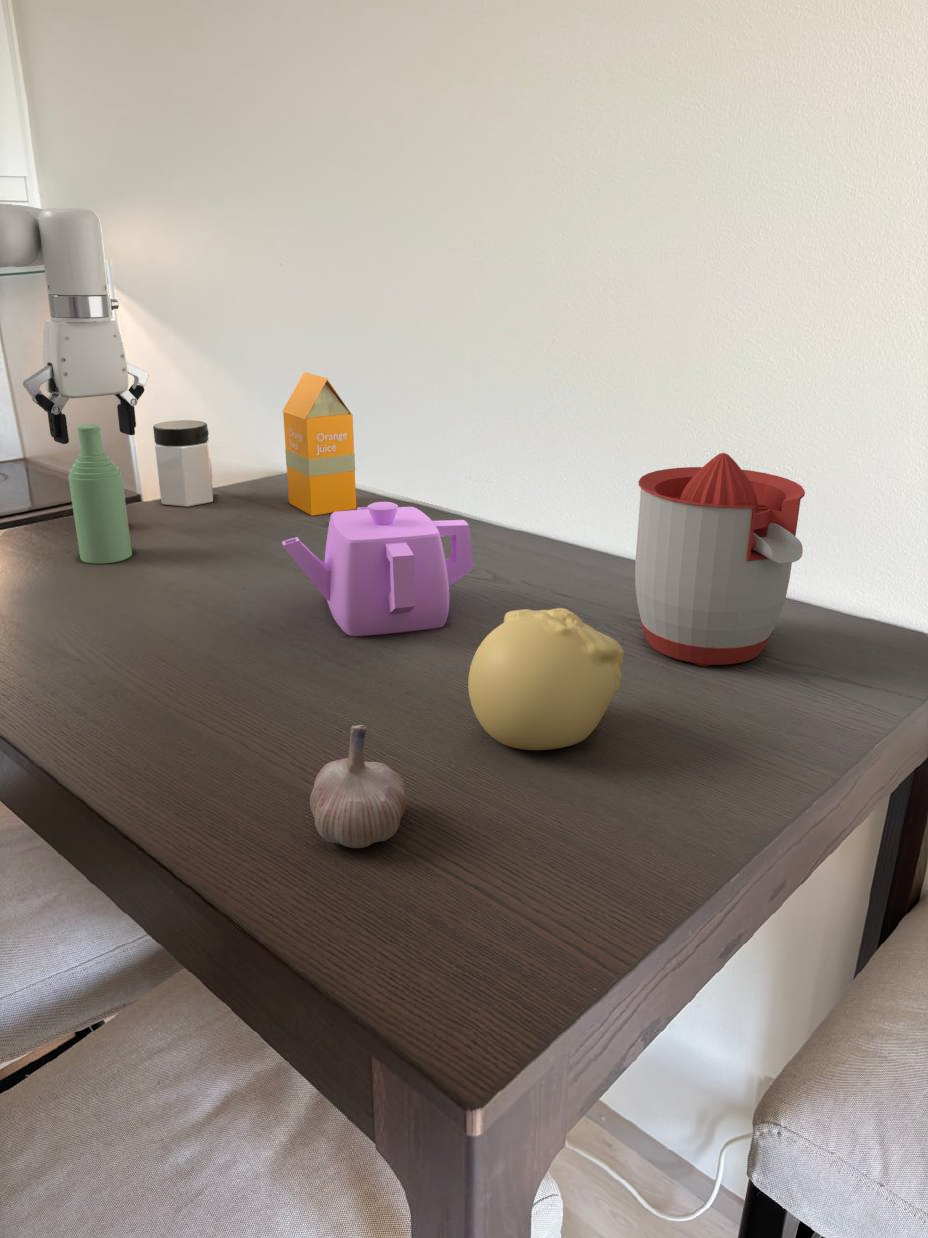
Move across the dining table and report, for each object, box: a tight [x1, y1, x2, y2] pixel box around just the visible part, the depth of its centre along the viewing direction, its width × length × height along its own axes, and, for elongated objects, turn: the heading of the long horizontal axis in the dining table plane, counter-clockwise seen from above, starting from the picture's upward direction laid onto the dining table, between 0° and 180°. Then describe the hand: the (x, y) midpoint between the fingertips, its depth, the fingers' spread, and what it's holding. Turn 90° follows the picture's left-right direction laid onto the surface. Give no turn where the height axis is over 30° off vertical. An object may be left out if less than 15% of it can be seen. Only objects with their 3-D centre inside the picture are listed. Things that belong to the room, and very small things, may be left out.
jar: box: [152, 419, 214, 508], centre depth 150 cm, size 9×8×12 cm
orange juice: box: [281, 371, 357, 516], centre depth 146 cm, size 8×9×20 cm
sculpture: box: [467, 607, 625, 751], centre depth 79 cm, size 12×12×11 cm
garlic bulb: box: [309, 724, 407, 849], centre depth 66 cm, size 8×7×8 cm
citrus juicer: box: [634, 452, 806, 667], centre depth 94 cm, size 16×17×20 cm
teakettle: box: [281, 501, 474, 637], centre depth 105 cm, size 17×17×12 cm
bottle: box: [67, 423, 133, 565], centre depth 122 cm, size 6×6×17 cm
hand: (95, 437), depth 133 cm, fingers open, 9 cm apart
